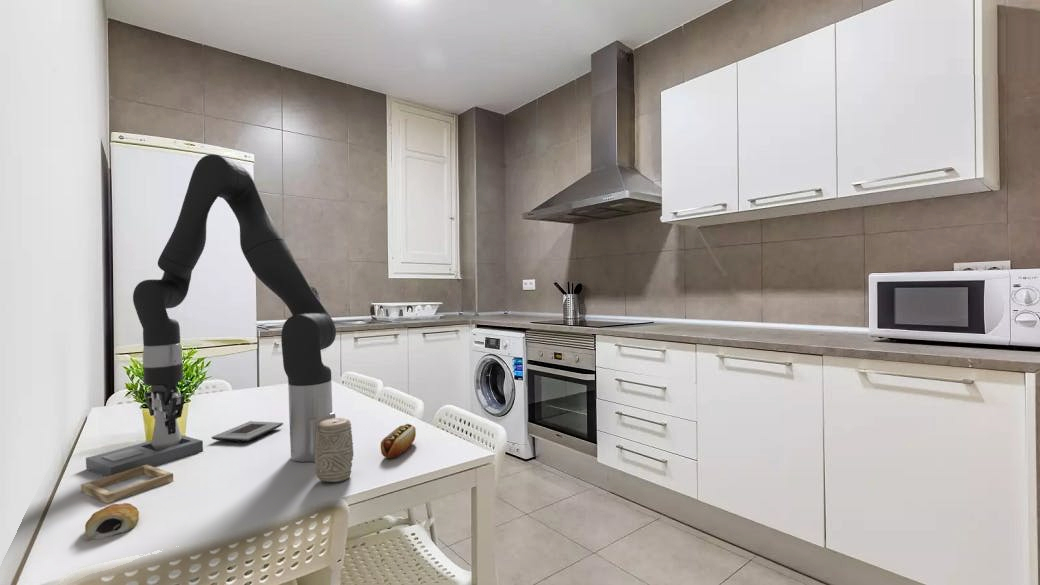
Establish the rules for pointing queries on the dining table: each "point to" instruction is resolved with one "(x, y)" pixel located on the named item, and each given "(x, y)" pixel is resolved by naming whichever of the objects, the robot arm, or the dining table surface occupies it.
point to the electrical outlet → (247, 431)
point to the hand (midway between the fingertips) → (166, 434)
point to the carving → (333, 450)
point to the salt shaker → (163, 431)
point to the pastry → (111, 521)
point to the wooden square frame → (107, 497)
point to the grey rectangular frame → (141, 456)
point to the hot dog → (398, 441)
